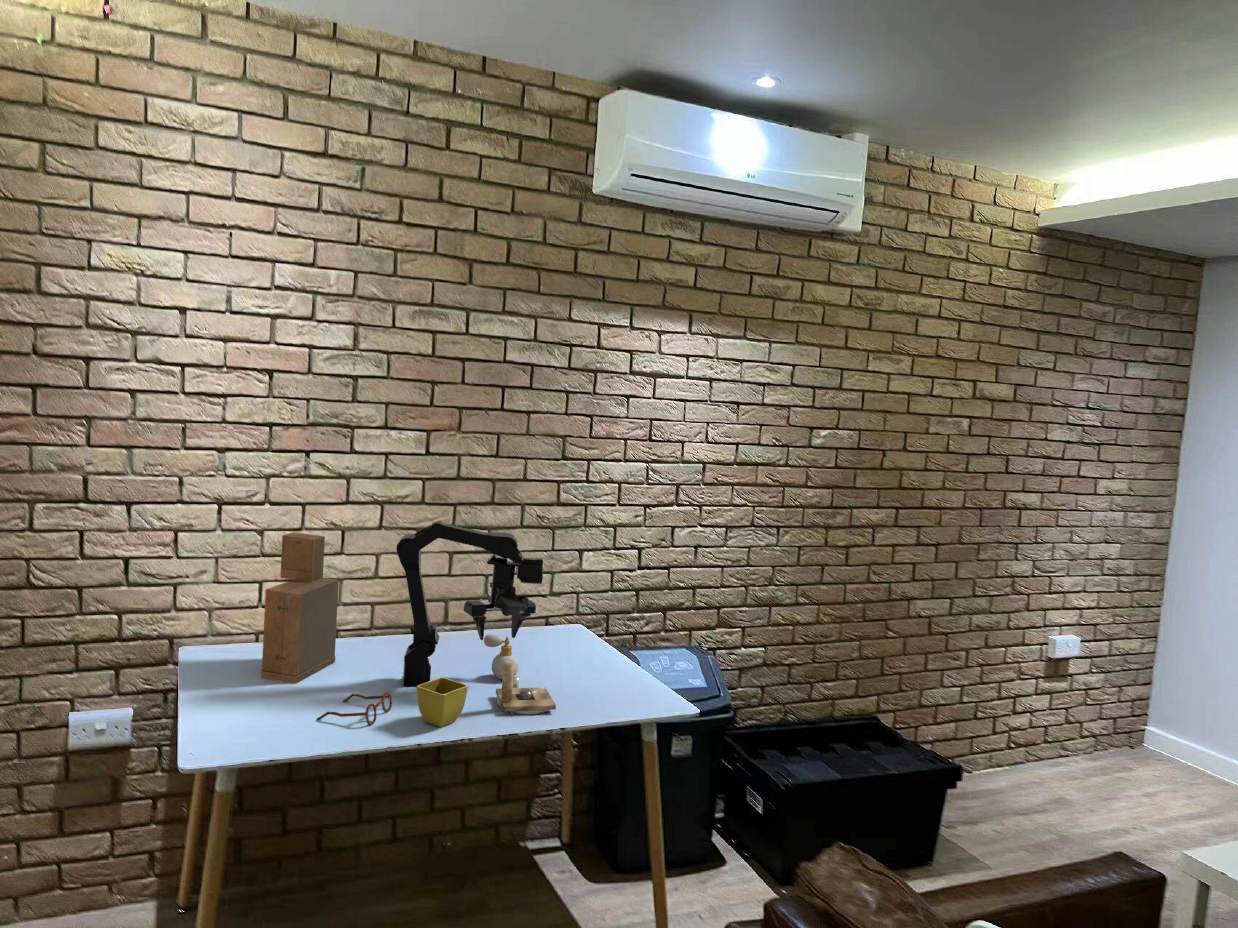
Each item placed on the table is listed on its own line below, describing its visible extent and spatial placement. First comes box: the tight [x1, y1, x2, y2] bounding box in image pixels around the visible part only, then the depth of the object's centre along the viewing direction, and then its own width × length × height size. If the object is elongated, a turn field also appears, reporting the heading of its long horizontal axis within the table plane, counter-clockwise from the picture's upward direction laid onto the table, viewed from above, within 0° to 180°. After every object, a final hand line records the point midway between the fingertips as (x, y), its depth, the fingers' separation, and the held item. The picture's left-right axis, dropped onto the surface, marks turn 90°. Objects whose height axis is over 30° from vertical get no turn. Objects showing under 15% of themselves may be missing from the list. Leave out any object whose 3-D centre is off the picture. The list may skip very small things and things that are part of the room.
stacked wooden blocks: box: [260, 532, 340, 684], centre depth 237 cm, size 19×14×35 cm
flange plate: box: [495, 660, 557, 712], centre depth 224 cm, size 13×13×11 cm
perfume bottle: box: [483, 633, 520, 680], centre depth 243 cm, size 8×10×12 cm
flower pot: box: [416, 676, 469, 728], centre depth 209 cm, size 9×9×9 cm
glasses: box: [316, 691, 393, 726], centre depth 211 cm, size 13×13×5 cm
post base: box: [496, 676, 550, 716], centre depth 226 cm, size 14×17×4 cm
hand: (497, 638), depth 237 cm, fingers open, 9 cm apart
